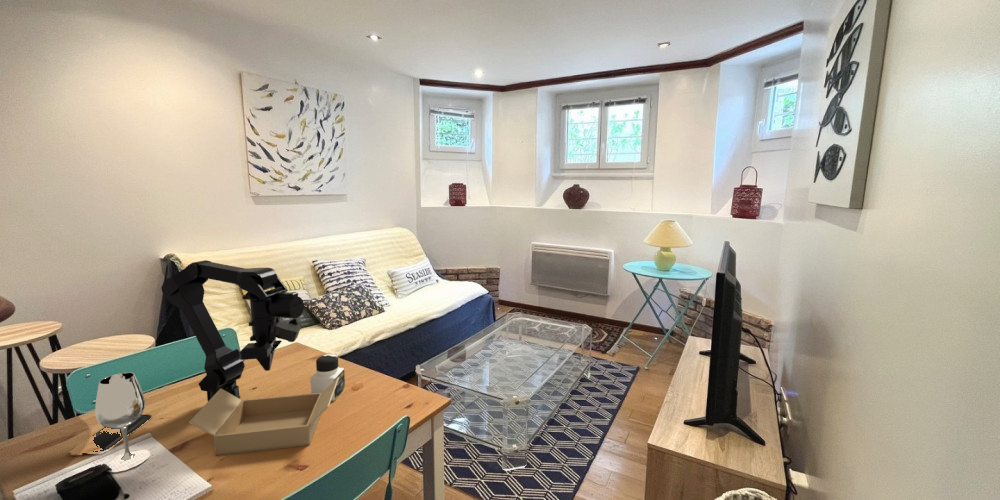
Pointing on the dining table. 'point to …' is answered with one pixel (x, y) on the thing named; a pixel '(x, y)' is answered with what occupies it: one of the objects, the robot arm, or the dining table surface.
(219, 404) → the flap near
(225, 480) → the dining table surface
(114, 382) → the wineglass
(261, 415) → the carton
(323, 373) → the medicine bottle
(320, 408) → the flap far
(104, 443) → the phone
